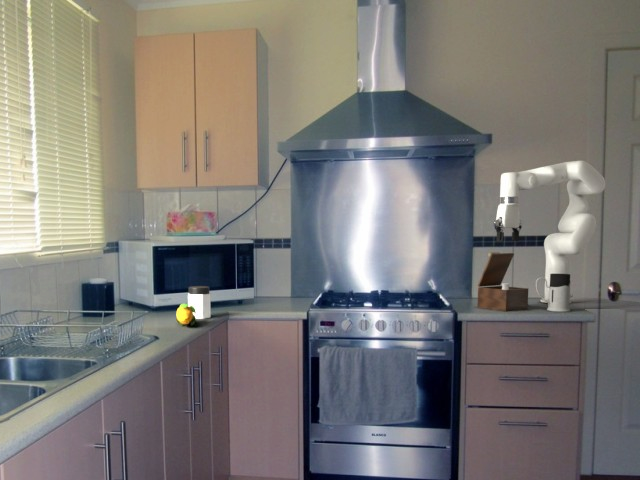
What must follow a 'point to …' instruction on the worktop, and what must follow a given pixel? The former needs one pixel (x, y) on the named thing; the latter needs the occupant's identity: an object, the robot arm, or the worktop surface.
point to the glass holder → (558, 292)
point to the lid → (495, 269)
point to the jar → (200, 301)
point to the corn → (185, 314)
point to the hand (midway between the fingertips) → (507, 241)
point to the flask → (505, 286)
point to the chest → (502, 298)
